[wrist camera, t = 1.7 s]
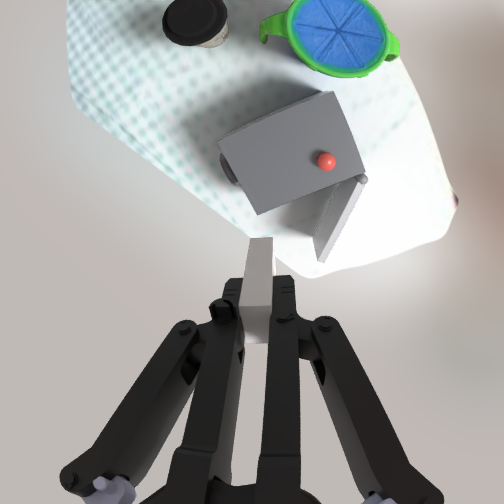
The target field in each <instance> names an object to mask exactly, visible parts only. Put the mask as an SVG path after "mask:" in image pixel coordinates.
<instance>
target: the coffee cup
mask: <svg viewBox="0 0 504 504" xmlns="http://www.w3.org/2000/svg"><path fill="white" fill-rule="evenodd" d="M162 25H163V31H164V33H165V35H166V37H167V38H169V39H170V40H171V41H172V42H174V43H176V44H179V45H182V46H200V47H207V48H212V47H216V46H219V45H221V44H222V43H223V42H224V41H225V40H226V39H227V37H228V33H229V32H228V25H227V8H226V6H225V4H224V3H223V1H222V0H175V1H173V2H172V3H171V4H170V5H169V6H168V8H167V9H166V11H165V13H164V16H163V19H162Z"/></svg>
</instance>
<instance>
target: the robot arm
mask: <svg viewBox="0 0 504 504" xmlns="http://www.w3.org/2000/svg"><path fill="white" fill-rule="evenodd" d="M209 310H210V313H211V317H212V320H211V321H210V322H207V323H204V324H199V325H196V323H195V322H194V321H191V320H183V321H180V322H178V323H176V324H175V325H174V327H173V328H172V329H171V331H170V333H169V334H168V335H167V336H166V338H165V339H164V341H163V342H162V344H161V345H160V347H159V348H158V349H157V351H156V352H155V354H154V355H153V357H152V358H151V359H150V361H149V362H148V364H147V365H146V367H145V368H144V370H143V371H142V372H141V374H140V376H139V377H138V378H137V380H136V381H135V383H134V384H133V386H132V387H131V389H130V390H129V392H128V393H127V394H126V396H125V397H124V399H123V400H122V402H121V404H120V405H119V406H118V408H117V410H116V411H115V412H114V414H113V415H112V417H111V418H110V420H109V421H108V423H107V424H106V426H105V427H104V429H103V431H102V432H101V433H100V435H99V437H98V438H97V440H96V441H95V443H94V444H93V446H92V447H91V448H90V449H88V450H87V451H86V452H84V453H83V454H82V455H80V456H79V457H78V458H76V459H75V460H73V461H72V462H71V463H69V464H68V465H67V466H65V467H64V468H63V469H62V470H61V473H60V482H61V485H62V486H63V487H64V489H65V490H67V491H68V492H71V493H73V494H76V495H78V496H80V497H81V498H82V499H83V500H84V501H85V503H86V504H132V503H133V502H134V501H135V500H136V499H137V494H136V492H135V489H134V488H135V487H136V486H137V485H138V484H139V483H140V482H141V481H142V480H143V478H144V477H145V476H146V474H147V472H148V471H149V469H150V468H151V466H152V464H153V462H154V460H155V459H156V457H157V455H158V453H159V452H160V450H161V448H162V446H163V444H164V443H165V441H166V439H167V437H168V435H169V434H170V432H171V430H172V428H173V426H174V425H175V423H176V421H177V419H178V417H179V415H180V413H181V412H182V410H183V408H184V406H185V404H186V403H187V401H188V399H189V397H190V395H191V393H192V392H193V390H194V394H193V398H192V402H191V406H190V411H189V415H188V419H187V423H186V428H185V432H184V436H183V440H182V444H181V446H180V447H178V448H176V450H175V451H174V454H173V456H172V461H171V465H170V469H169V474H168V478H167V483H166V485H165V486H163V487H162V488H160V489H159V490H157V491H156V492H155V493H153V494H152V495H151V496H149V497H148V498H146V499H145V500H143V502H141V503H139V504H321V503H320V502H319V501H318V500H317V498H315V497H314V496H313V495H312V494H310V493H308V492H307V491H305V490H302V489H300V484H301V454H300V379H299V378H300V376H299V358H301V359H305V360H310V363H311V366H312V368H313V371H314V374H315V376H316V379H317V381H318V384H319V386H320V389H321V392H322V394H323V397H324V400H325V402H326V405H327V408H328V410H329V413H330V416H331V418H332V421H333V424H334V426H335V429H336V432H337V434H338V437H339V440H340V442H341V445H342V448H343V451H344V453H345V456H346V459H347V461H348V464H349V467H350V470H351V472H352V475H353V478H354V481H355V483H356V485H357V487H358V490H359V491H360V493H361V494H362V496H363V497H364V499H365V501H364V502H363V503H362V504H444V496H443V494H442V493H441V491H440V490H439V489H438V488H436V487H435V486H434V485H433V484H432V483H431V482H430V481H428V480H427V479H426V478H425V477H424V476H423V475H422V474H420V473H419V472H418V471H417V470H416V469H415V468H414V467H413V466H412V465H411V464H410V463H409V461H408V459H407V456H406V454H405V452H404V450H403V448H402V445H401V443H400V441H399V439H398V437H397V435H396V433H395V431H394V428H393V426H392V424H391V422H390V420H389V418H388V416H387V414H386V412H385V410H384V408H383V406H382V404H381V402H380V400H379V398H378V396H377V394H376V392H375V390H374V388H373V386H372V384H371V382H370V380H369V378H368V376H367V375H366V373H365V371H364V369H363V367H362V365H361V363H360V361H359V359H358V357H357V355H356V354H355V352H354V350H353V348H352V346H351V344H350V342H349V340H348V339H347V337H346V335H345V333H344V331H343V329H342V328H341V326H340V324H339V322H338V321H337V320H336V319H334V318H333V317H330V316H320V317H318V318H316V319H315V320H314V321H310V320H305V319H303V318H301V317H300V316H299V315H298V314H297V311H296V300H295V285H294V279H293V278H292V277H291V276H290V275H281V276H276V267H275V254H274V242H273V237H266V238H251V239H250V244H249V250H248V255H247V260H246V266H245V272H244V278H230V279H229V280H228V281H227V282H226V283H225V287H224V291H223V296H222V298H220V299H217V300H215V301H213V302H212V303H211V304H210V306H209ZM244 341H246V343H247V344H252V343H253V344H254V343H268V357H267V373H266V388H265V404H264V417H263V430H262V443H261V453H260V456H259V460H258V468H257V479H256V483H255V484H250V485H243V486H232V485H231V479H232V473H231V460H232V452H233V444H234V436H235V429H236V421H237V412H238V404H239V396H240V388H241V381H242V373H243V364H244V356H245V348H244ZM194 388H195V389H194Z"/></svg>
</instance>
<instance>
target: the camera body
mask: <svg viewBox="0 0 504 504" xmlns="http://www.w3.org/2000/svg"><path fill="white" fill-rule="evenodd" d="M217 144H218V146H219V148H220V149H221V151H222V154H220V162H221V165H222V168H223V170H224V172H225V174H226V176H227V177H228V179H229V180H230V181H231V183H233V184H234V185H237V184H239V183H240V185H241V187H242V189H243V190H244V192H245V194H246V196H247V198H248V199H249V201H250V203H251V205H252V207H253V209H254V210H255V212H256V214H257V215H260V214H262V213H264V212H267V211H269V210H271V209H274V208H276V207H279V206H281V205H283V204H286V203H288V202H291V201H293V200H296V199H298V198H300V197H303V196H305V195H308V194H310V193H313V192H315V191H318V190H320V189H323V188H325V187H328V186H330V185H333V184H336V183H338V182H341V181H343V180H346V179H348V178H351V177H354V176H356V175H359V174H361V173H364V172H365V169H364V166H363V163H362V160H361V157H360V154H359V152H358V149H357V146H356V144H355V141H354V138H353V136H352V133H351V131H350V128H349V126H348V123H347V121H346V118H345V116H344V114H343V111H342V109H341V107H340V105H339V102H338V100H337V98H336V96H335V94H334V91H324V92H320V93H317V94H314V95H312V96H309V97H307V98H304V99H302V100H299V101H297V102H294V103H292V104H289V105H287V106H285V107H282V108H280V109H278V110H275V111H273V112H271V113H268V114H266V115H264V116H262V117H260V118H258V119H255V120H253V121H251V122H249V123H247V124H245V125H243V126H241V127H239V128H237V129H235V130H233V131H231V132H229V133H227V134H226V135H224V136H223V137H222V138H221V139H220V140H219V141H218V142H217Z"/></svg>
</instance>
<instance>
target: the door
mask: <svg viewBox="0 0 504 504" xmlns="http://www.w3.org/2000/svg"><path fill="white" fill-rule="evenodd" d="M367 182H368V177H367V176H366V175H365V174H364V173H361V174H359V175H356V176H354V177H351V178H348V179H346V180H343V181H341V182H340V183H339V185H338V187H337V189H336V191H335V193H334V196H333V198H332V200H331V202H330V204H329V206H328V208H327V210H326V212H325V214H324V216H323V218H322V220H321V222H320V225H319V227H318V229H317V231H316V233H315V235H314V237H313V243H314V247H315V252H316V256H317V261H320V262H323V263H324V262H325V260H326V258H327V257H328V255H329V253H330V251H331V249H332V248H333V246H334V244H335V242H336V240H337V239H338V237H339V235H340V233H341V231H342V229H343V227H344V225H345V224H346V222H347V220H348V218H349V216H350V214H351V212H352V210H353V208H354V206H355V204H356V202H357V200H358V198H359V196H360V194H361V192H362V190H363V188H364V186H365V184H366V183H367Z"/></svg>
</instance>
